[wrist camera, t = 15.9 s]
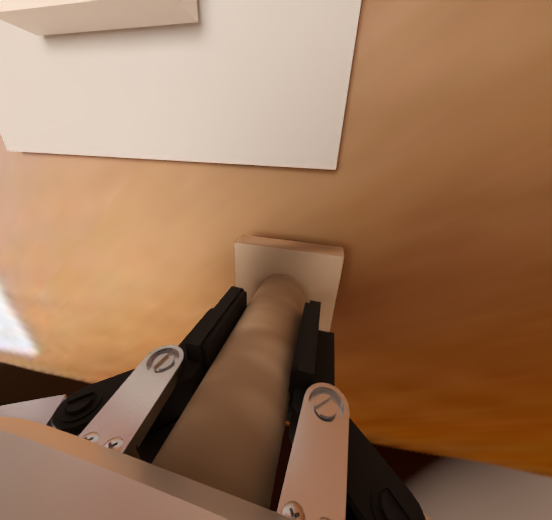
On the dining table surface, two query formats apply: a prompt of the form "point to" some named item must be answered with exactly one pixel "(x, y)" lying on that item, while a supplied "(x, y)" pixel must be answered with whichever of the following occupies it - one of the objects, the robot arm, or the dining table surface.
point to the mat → (187, 86)
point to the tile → (94, 14)
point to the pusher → (253, 370)
